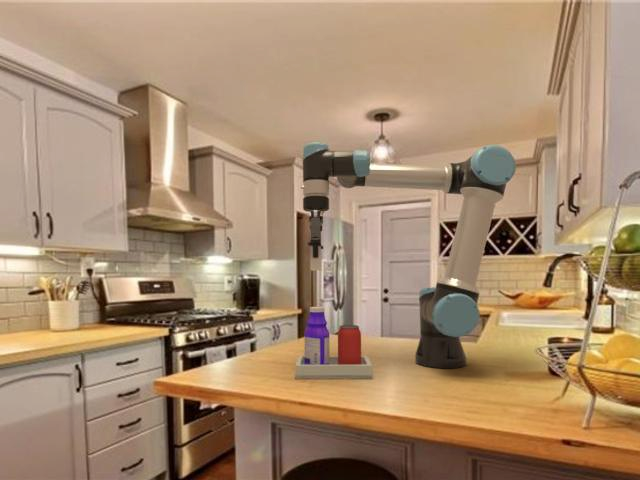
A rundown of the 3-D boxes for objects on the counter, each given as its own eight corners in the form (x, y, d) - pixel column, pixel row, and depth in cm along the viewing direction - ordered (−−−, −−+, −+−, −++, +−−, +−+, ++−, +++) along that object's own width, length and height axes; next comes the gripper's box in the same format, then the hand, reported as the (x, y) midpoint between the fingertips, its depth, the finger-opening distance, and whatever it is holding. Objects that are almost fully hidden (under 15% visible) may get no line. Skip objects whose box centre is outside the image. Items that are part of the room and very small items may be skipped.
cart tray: (367, 368, 120) (367, 356, 121) (372, 379, 108) (372, 365, 108) (298, 368, 121) (298, 356, 121) (295, 379, 109) (295, 365, 109)
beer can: (349, 373, 110) (349, 328, 111) (333, 369, 115) (332, 326, 116) (366, 369, 114) (365, 326, 115) (349, 365, 119) (349, 324, 120)
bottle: (333, 370, 114) (333, 307, 116) (319, 373, 110) (319, 308, 111) (314, 366, 119) (314, 305, 120) (300, 369, 115) (300, 307, 116)
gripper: (305, 204, 131) (305, 270, 129) (300, 188, 106) (300, 270, 104) (328, 204, 131) (329, 270, 129) (329, 188, 106) (329, 270, 104)
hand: (316, 270), depth 117 cm, fingers open, 13 cm apart
